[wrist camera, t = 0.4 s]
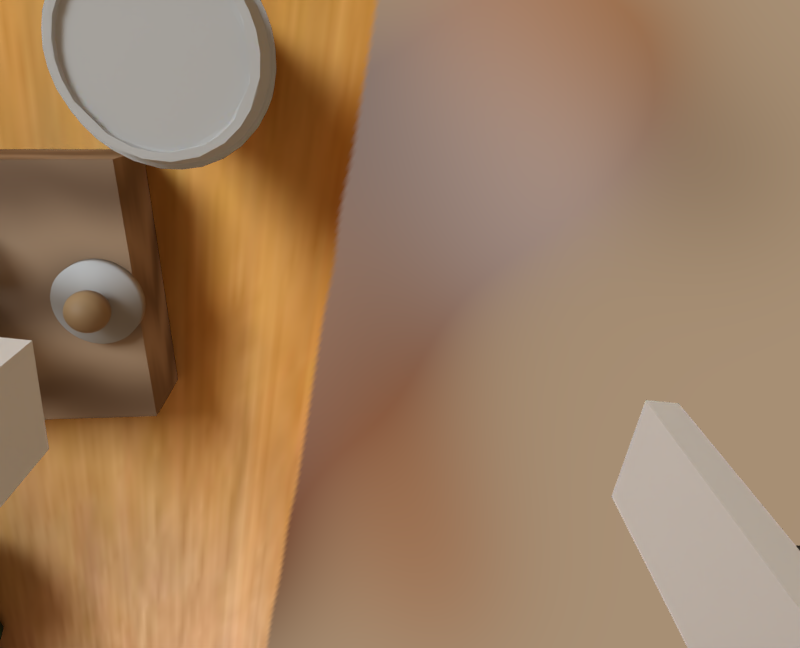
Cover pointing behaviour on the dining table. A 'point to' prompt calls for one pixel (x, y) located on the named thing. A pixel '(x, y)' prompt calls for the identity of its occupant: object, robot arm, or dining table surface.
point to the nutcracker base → (85, 281)
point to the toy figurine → (1, 629)
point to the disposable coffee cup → (163, 74)
